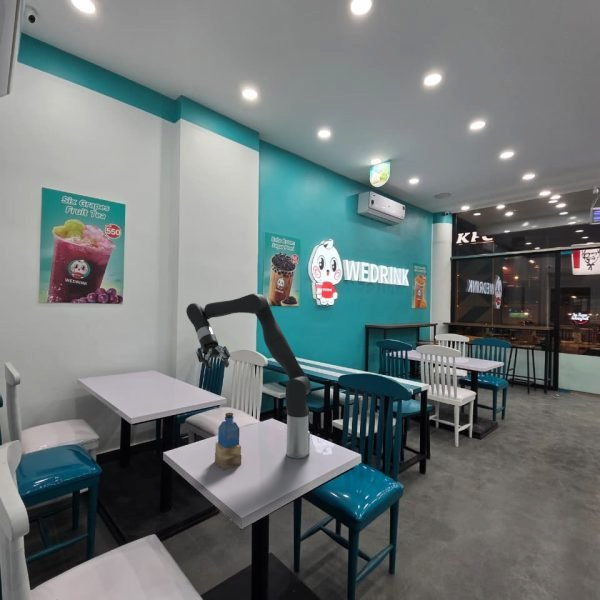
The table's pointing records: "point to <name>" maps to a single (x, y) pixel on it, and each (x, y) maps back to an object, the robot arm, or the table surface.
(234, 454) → the tower top block
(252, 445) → the table surface
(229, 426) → the perfume bottle
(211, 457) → the table surface
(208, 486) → the table surface
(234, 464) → the tower bottom block
